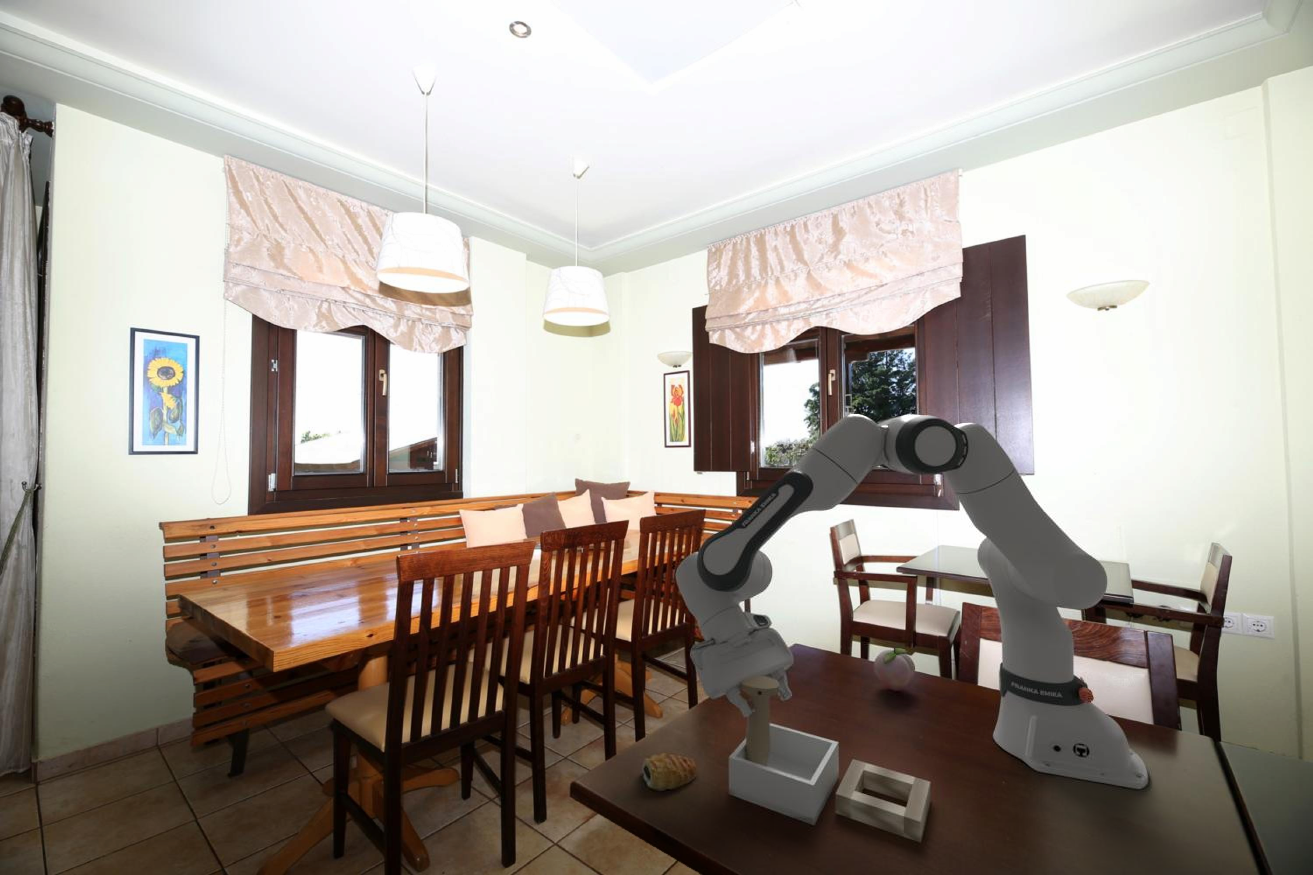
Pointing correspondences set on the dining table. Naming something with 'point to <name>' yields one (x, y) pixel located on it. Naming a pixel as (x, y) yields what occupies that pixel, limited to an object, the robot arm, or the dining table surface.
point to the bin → (788, 774)
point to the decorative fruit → (894, 668)
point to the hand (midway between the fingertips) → (769, 706)
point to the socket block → (880, 811)
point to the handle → (759, 717)
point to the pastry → (668, 771)
